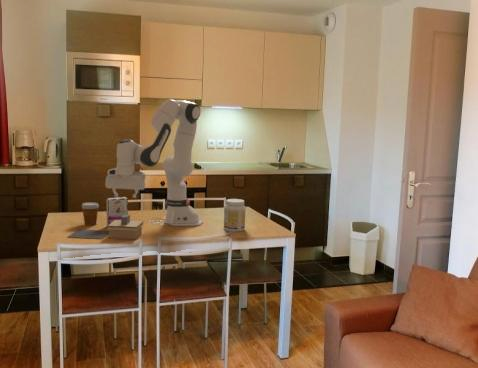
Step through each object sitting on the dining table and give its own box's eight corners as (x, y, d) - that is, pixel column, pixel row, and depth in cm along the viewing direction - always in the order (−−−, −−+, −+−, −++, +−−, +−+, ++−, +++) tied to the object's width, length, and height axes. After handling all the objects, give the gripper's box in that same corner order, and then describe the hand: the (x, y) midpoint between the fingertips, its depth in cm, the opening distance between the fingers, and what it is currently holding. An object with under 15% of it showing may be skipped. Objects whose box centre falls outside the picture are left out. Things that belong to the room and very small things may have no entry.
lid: (143, 224, 263) (143, 213, 262) (136, 230, 249) (136, 219, 248) (114, 223, 263) (114, 212, 262) (107, 229, 250) (107, 218, 249)
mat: (111, 231, 265) (111, 230, 265) (101, 239, 250) (101, 238, 249) (78, 229, 266) (78, 229, 266) (67, 237, 250) (67, 236, 250)
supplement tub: (237, 226, 287) (238, 197, 284) (249, 230, 277) (250, 201, 274) (219, 228, 280) (220, 199, 278) (230, 233, 270) (231, 203, 268)
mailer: (141, 233, 263) (141, 222, 262) (135, 239, 251) (135, 228, 250) (115, 232, 263) (115, 221, 262) (108, 238, 251) (108, 226, 250)
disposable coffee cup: (102, 224, 279) (102, 204, 277) (87, 227, 272) (87, 206, 270) (93, 221, 285) (93, 201, 284) (78, 224, 278) (78, 203, 277)
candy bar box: (125, 224, 281) (125, 196, 278) (128, 226, 277) (128, 198, 274) (106, 226, 276) (106, 197, 273) (108, 228, 271) (108, 199, 269)
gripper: (146, 171, 254) (146, 197, 257) (108, 169, 255) (108, 195, 257) (144, 172, 248) (143, 199, 250) (104, 170, 249) (104, 197, 251)
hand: (125, 197), depth 254 cm, fingers open, 8 cm apart
